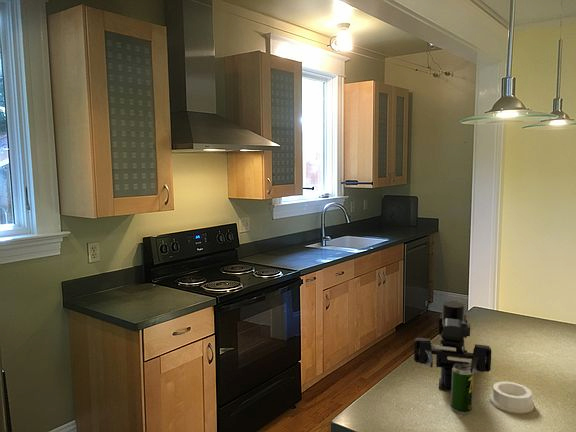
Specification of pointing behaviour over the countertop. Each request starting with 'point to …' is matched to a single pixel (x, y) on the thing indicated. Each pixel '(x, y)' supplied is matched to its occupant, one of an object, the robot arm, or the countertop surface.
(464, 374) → the beer can
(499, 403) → the can holder
